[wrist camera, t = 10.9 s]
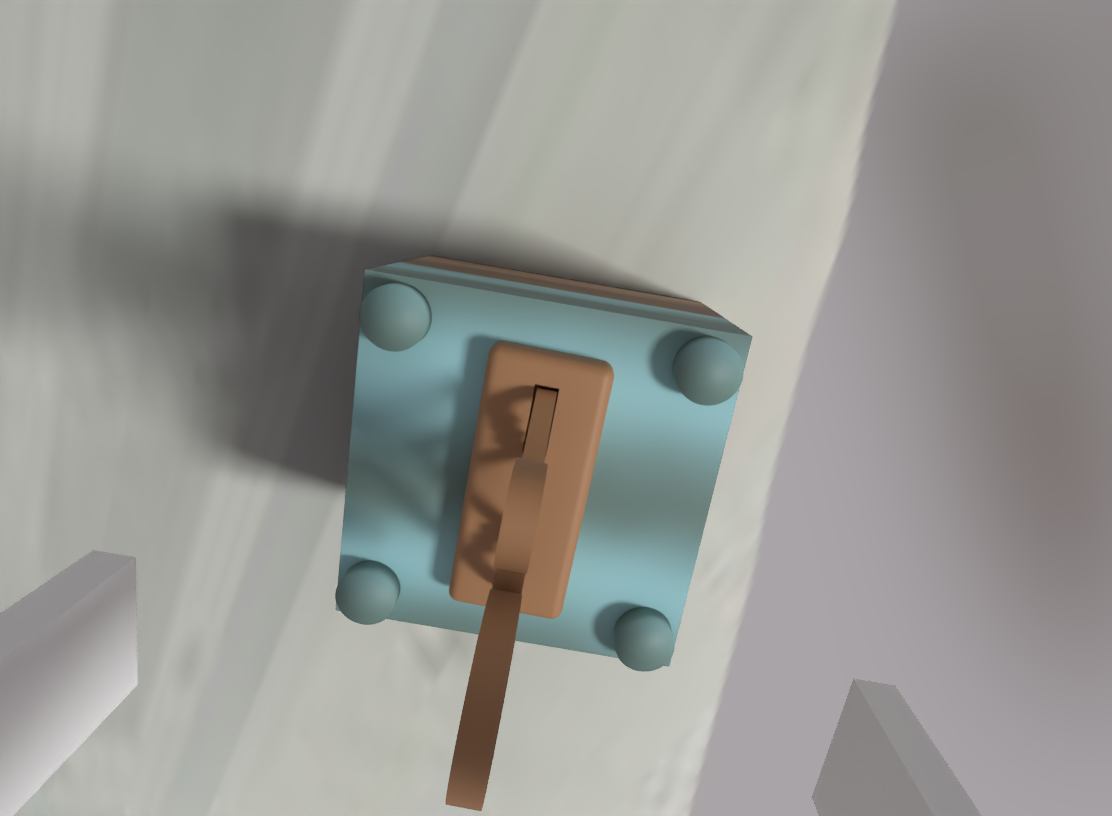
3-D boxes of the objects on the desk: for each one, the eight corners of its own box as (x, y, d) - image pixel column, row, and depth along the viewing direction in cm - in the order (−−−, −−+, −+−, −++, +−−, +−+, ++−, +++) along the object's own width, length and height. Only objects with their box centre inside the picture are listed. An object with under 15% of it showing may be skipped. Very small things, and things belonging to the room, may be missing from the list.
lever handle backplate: (560, 607, 23) (539, 997, 11) (451, 586, 23) (318, 956, 11) (615, 362, 21) (658, 542, 9) (492, 338, 20) (377, 487, 9)
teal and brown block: (430, 255, 29) (356, 271, 19) (701, 302, 29) (759, 341, 19) (402, 505, 32) (327, 623, 23) (645, 546, 32) (672, 681, 23)
